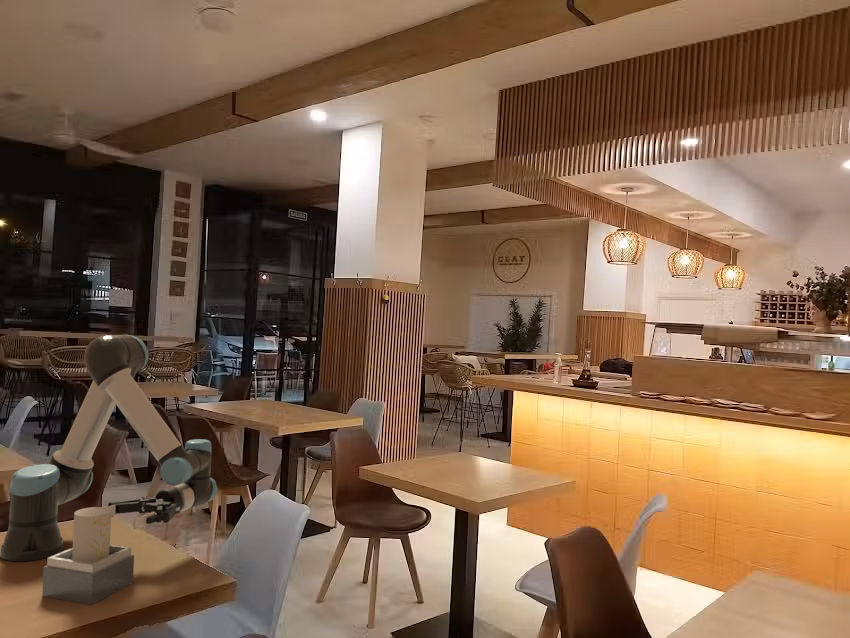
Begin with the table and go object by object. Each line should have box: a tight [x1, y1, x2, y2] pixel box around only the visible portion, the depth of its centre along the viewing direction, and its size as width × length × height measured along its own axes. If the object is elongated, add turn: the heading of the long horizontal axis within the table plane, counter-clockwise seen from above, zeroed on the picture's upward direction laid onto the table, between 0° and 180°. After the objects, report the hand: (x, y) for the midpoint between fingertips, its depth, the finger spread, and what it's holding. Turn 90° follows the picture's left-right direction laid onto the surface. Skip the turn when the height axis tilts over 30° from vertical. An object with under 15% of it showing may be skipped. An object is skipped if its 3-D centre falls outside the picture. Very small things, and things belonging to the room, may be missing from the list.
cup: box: [72, 506, 112, 563], centre depth 161 cm, size 8×8×12 cm
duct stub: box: [42, 543, 135, 606], centre depth 161 cm, size 14×14×9 cm
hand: (114, 520), depth 167 cm, fingers open, 13 cm apart
